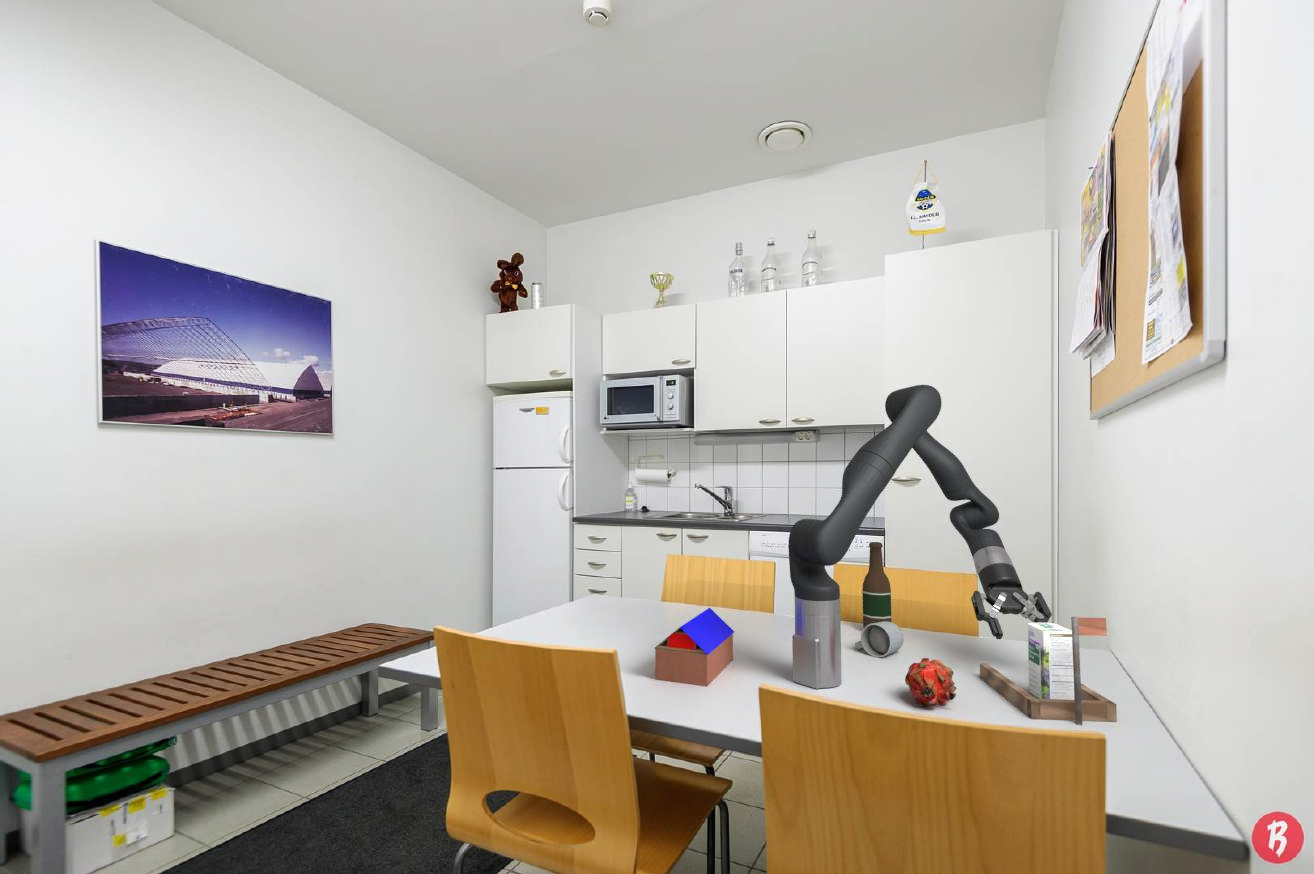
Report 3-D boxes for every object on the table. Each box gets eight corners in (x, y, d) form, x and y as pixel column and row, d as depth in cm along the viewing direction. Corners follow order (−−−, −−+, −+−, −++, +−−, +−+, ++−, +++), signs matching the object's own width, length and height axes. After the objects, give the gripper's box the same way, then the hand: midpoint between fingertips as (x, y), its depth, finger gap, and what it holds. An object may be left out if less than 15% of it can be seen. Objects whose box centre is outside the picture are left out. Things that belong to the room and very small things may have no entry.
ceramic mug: (906, 653, 150) (905, 620, 151) (891, 660, 144) (890, 626, 145) (864, 645, 158) (863, 614, 158) (848, 652, 152) (847, 619, 152)
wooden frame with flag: (980, 677, 132) (977, 591, 133) (1050, 679, 131) (1047, 592, 132) (1037, 723, 108) (1033, 617, 109) (1124, 726, 107) (1119, 618, 108)
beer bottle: (897, 631, 170) (895, 542, 171) (885, 637, 164) (883, 544, 166) (869, 627, 175) (868, 540, 177) (857, 632, 170) (855, 542, 171)
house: (653, 681, 132) (653, 624, 132) (685, 655, 150) (685, 605, 151) (708, 688, 127) (707, 629, 128) (734, 660, 145) (734, 609, 146)
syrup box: (1027, 699, 120) (1025, 622, 120) (1059, 699, 119) (1056, 622, 120) (1044, 710, 114) (1041, 629, 115) (1078, 711, 114) (1075, 629, 114)
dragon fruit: (939, 700, 124) (932, 731, 113) (900, 670, 127) (890, 697, 116) (966, 670, 121) (961, 699, 110) (926, 640, 124) (918, 666, 113)
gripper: (966, 561, 138) (990, 627, 126) (1035, 562, 137) (1066, 628, 125) (958, 581, 143) (980, 646, 131) (1024, 582, 142) (1053, 648, 130)
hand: (1022, 637), depth 128 cm, fingers open, 8 cm apart
